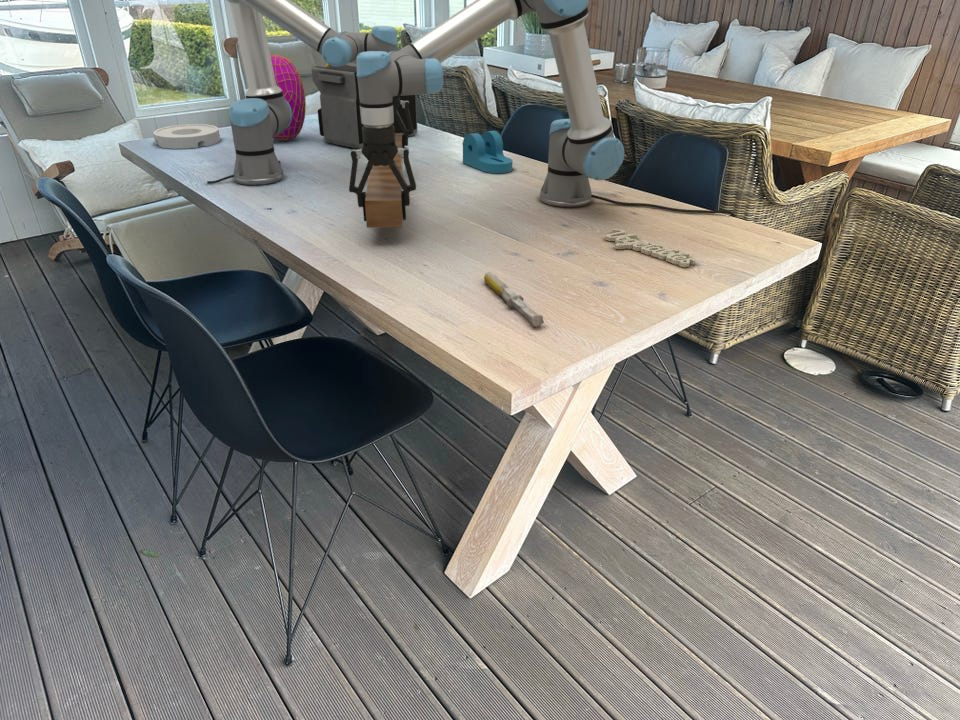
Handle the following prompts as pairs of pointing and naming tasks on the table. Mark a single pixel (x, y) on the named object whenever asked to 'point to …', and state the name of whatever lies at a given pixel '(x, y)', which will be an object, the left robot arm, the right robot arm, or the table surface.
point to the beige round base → (186, 136)
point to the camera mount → (486, 152)
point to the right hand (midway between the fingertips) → (385, 218)
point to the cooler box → (348, 106)
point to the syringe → (513, 299)
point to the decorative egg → (290, 94)
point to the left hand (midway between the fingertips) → (389, 155)
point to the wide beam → (384, 194)
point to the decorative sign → (649, 248)
